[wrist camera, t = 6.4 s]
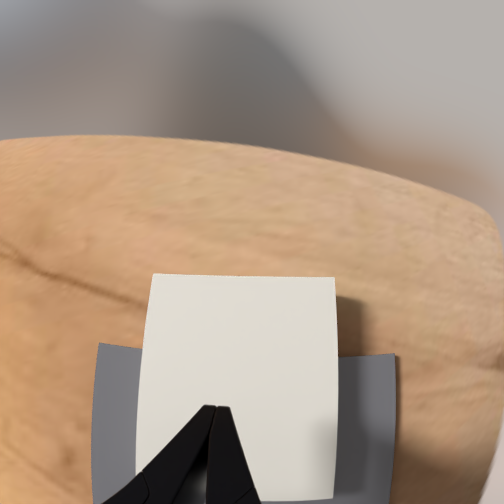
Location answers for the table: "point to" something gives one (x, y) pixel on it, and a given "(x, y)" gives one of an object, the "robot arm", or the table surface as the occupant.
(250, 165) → the table surface
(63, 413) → the table surface
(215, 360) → the tile
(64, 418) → the table surface
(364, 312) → the table surface
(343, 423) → the mat
